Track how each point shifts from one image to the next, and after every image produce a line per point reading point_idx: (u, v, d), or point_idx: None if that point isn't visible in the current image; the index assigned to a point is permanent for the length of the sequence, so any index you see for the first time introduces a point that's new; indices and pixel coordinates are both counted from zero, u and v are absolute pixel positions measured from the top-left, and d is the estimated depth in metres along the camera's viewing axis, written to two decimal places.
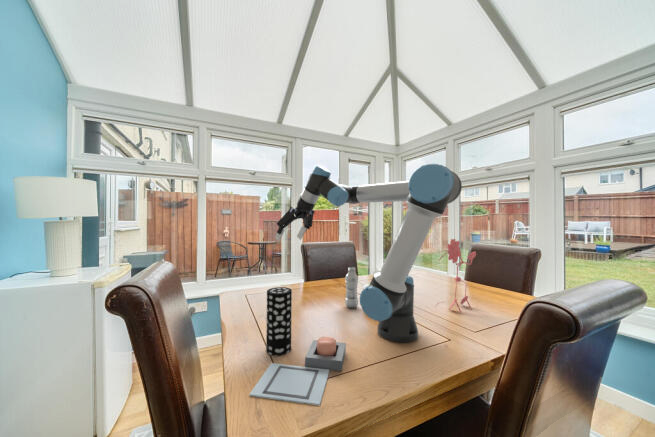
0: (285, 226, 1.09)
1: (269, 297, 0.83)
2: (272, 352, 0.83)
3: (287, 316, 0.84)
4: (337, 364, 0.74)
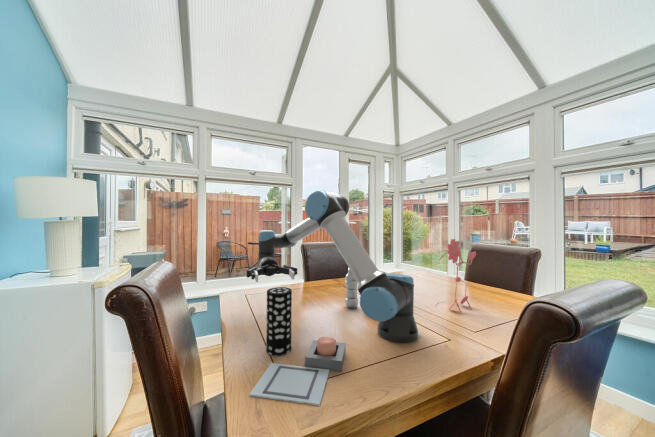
0: (255, 270, 1.01)
1: (269, 297, 0.83)
2: (272, 352, 0.83)
3: (287, 316, 0.84)
4: (337, 364, 0.74)
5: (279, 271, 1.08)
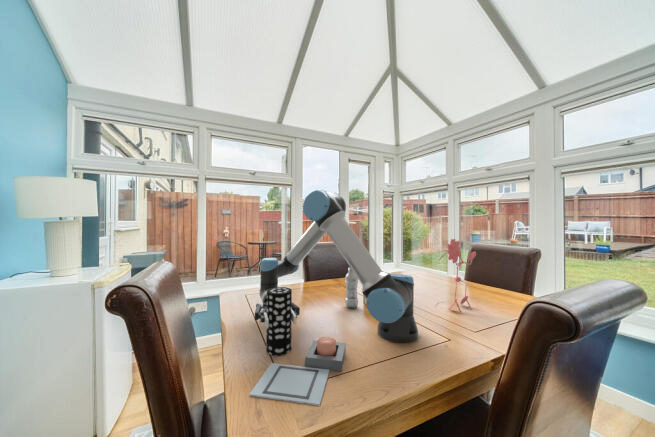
0: (263, 311, 0.88)
1: (269, 297, 0.83)
2: (272, 352, 0.83)
3: (287, 316, 0.84)
4: (337, 364, 0.74)
5: None
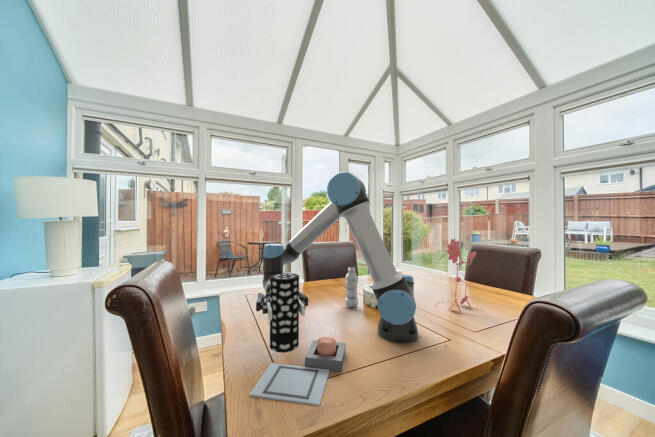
0: (266, 301, 0.75)
1: (272, 283, 0.71)
2: (276, 348, 0.70)
3: (294, 306, 0.71)
4: (337, 364, 0.74)
5: None
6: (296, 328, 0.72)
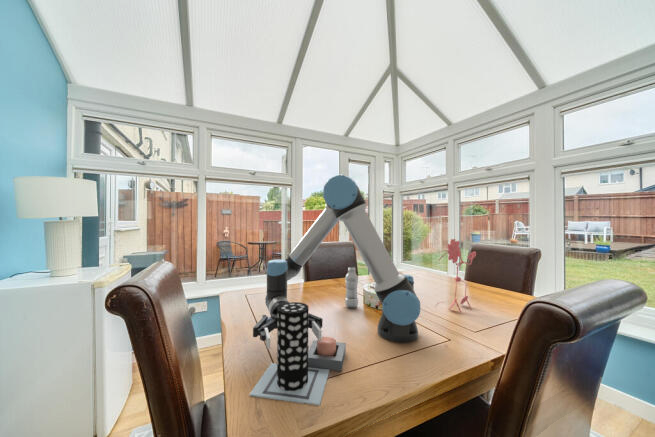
0: (264, 326, 0.71)
1: (280, 316, 0.66)
2: (285, 386, 0.65)
3: (304, 340, 0.67)
4: (337, 364, 0.74)
5: None
6: (306, 363, 0.67)
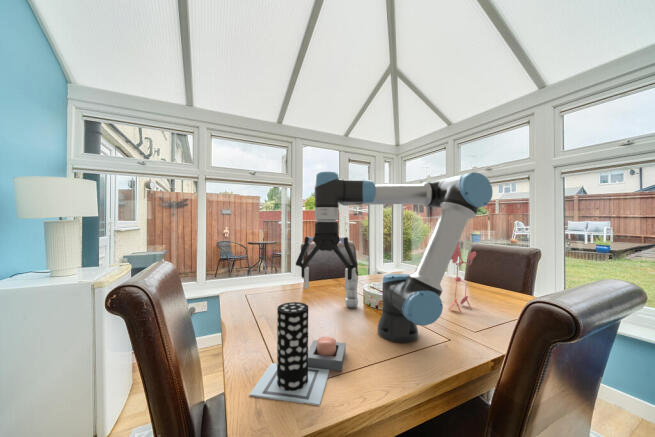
0: None
1: (280, 316, 0.66)
2: (285, 386, 0.65)
3: (304, 340, 0.67)
4: (337, 364, 0.74)
5: (316, 252, 0.81)
6: (306, 363, 0.67)
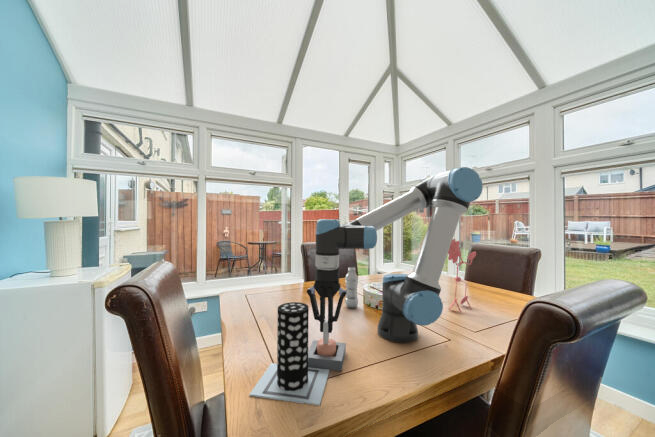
0: None
1: (280, 316, 0.66)
2: (285, 386, 0.65)
3: (304, 340, 0.67)
4: (337, 364, 0.74)
5: (324, 300, 0.80)
6: (306, 363, 0.67)
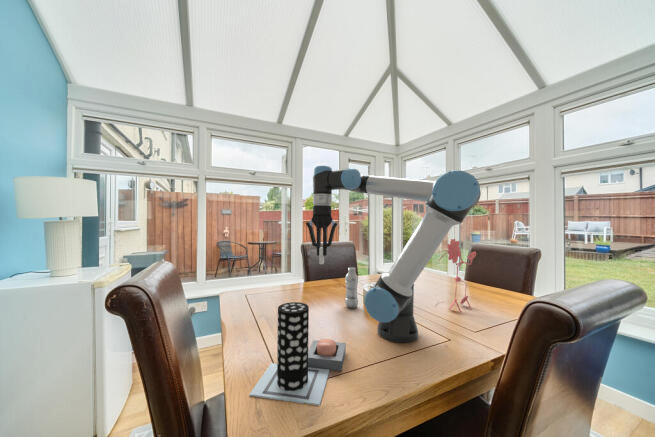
0: None
1: (281, 316, 0.66)
2: (285, 386, 0.65)
3: (304, 340, 0.67)
4: (337, 364, 0.74)
5: (320, 230, 1.02)
6: (306, 363, 0.67)
